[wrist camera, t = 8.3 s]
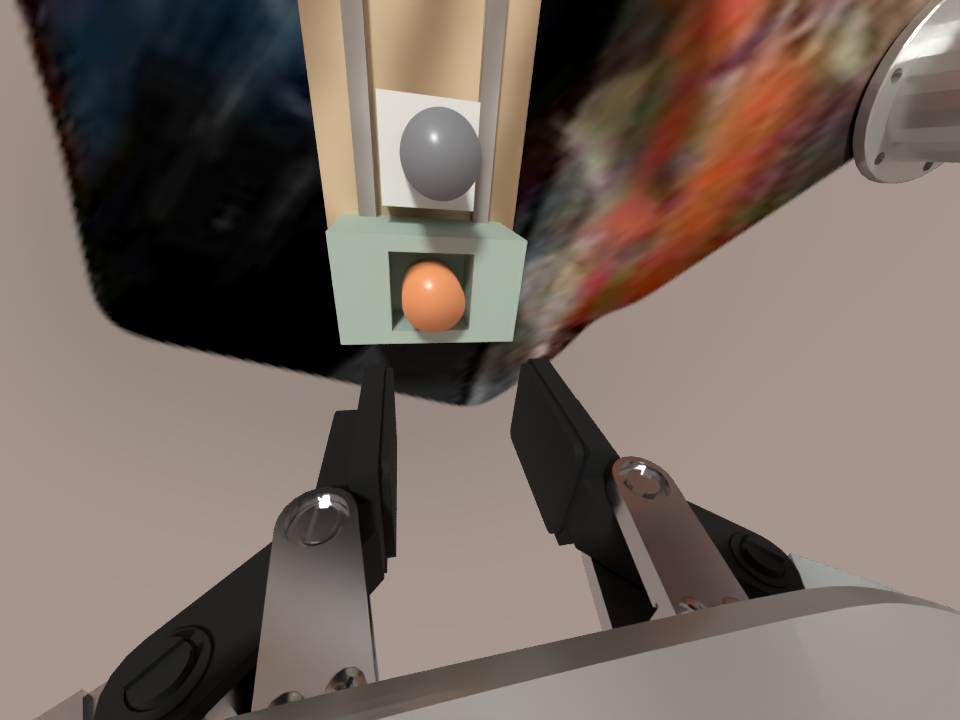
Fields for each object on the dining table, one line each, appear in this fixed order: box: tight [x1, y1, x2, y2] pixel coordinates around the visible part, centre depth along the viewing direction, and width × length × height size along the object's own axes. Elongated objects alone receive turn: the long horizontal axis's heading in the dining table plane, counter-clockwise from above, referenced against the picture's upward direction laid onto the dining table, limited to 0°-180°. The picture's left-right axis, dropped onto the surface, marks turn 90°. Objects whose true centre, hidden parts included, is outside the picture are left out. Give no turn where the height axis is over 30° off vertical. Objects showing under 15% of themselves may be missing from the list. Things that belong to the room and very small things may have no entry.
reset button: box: [402, 257, 465, 333], centre depth 19 cm, size 3×3×3 cm
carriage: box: [376, 88, 481, 211], centre depth 16 cm, size 5×5×9 cm
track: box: [298, 0, 541, 231], centre depth 19 cm, size 12×22×4 cm, turn 176°
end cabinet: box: [326, 213, 527, 345], centre depth 22 cm, size 10×6×8 cm, turn 85°
